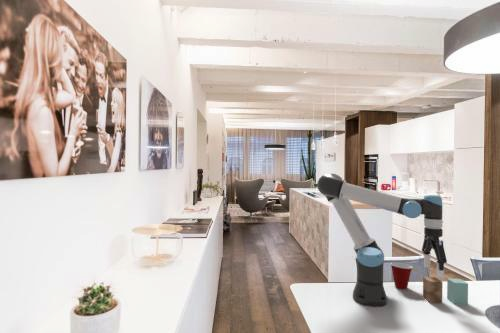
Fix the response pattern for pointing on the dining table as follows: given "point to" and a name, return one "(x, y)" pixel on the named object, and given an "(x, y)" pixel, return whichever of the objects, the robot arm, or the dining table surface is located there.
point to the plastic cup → (401, 274)
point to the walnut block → (432, 289)
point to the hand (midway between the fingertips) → (433, 272)
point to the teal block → (457, 291)
